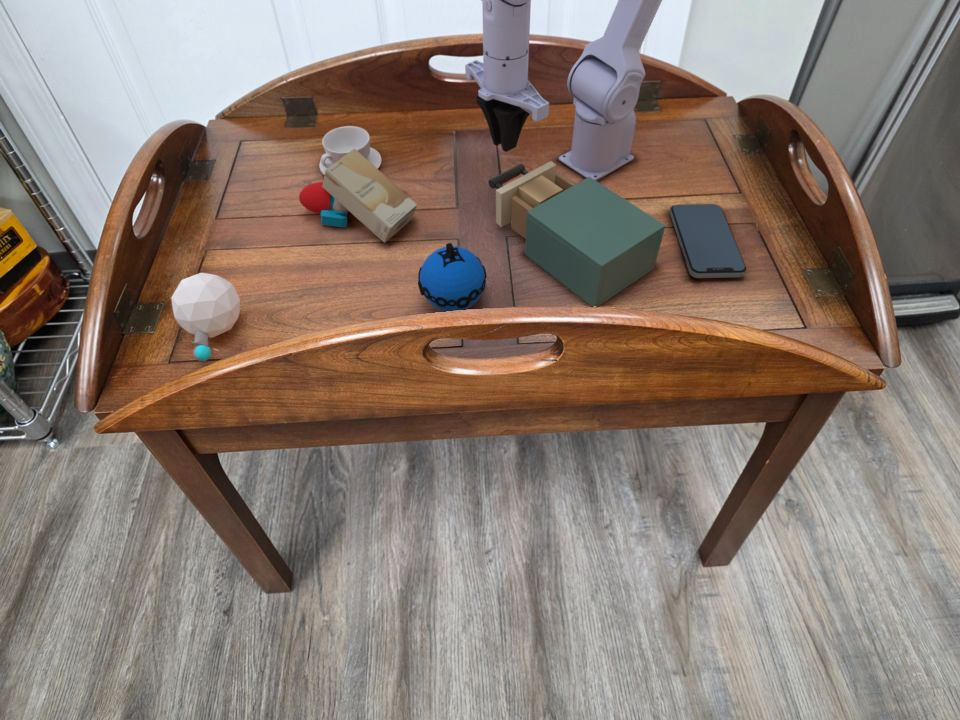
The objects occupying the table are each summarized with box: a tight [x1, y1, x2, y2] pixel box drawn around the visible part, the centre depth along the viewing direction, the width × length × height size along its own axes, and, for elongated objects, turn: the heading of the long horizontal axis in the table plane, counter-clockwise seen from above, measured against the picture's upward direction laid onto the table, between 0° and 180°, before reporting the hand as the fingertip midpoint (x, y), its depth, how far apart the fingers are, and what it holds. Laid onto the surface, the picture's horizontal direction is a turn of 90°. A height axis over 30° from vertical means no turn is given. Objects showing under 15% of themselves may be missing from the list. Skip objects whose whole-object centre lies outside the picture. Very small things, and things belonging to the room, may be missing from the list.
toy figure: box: [298, 181, 350, 228], centre depth 96 cm, size 8×5×15 cm
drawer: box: [487, 160, 577, 240], centre depth 91 cm, size 17×10×6 cm, turn 39°
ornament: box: [417, 242, 487, 312], centre depth 81 cm, size 9×9×10 cm
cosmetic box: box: [322, 148, 418, 244], centre depth 92 cm, size 6×4×12 cm
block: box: [518, 175, 563, 208], centre depth 91 cm, size 4×4×4 cm
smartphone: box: [669, 203, 747, 279], centre depth 91 cm, size 8×2×15 cm
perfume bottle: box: [170, 272, 241, 362], centre depth 80 cm, size 8×8×12 cm
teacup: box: [318, 125, 382, 176], centre depth 103 cm, size 10×10×5 cm
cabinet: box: [524, 177, 666, 307], centre depth 87 cm, size 14×12×8 cm
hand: (504, 145), depth 91 cm, fingers closed
